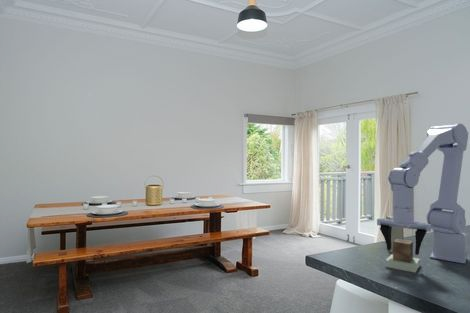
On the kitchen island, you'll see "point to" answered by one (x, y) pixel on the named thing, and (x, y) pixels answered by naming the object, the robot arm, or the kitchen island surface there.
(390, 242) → the robot arm
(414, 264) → the base slab
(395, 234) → the skincare box
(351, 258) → the kitchen island surface
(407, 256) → the walnut block
